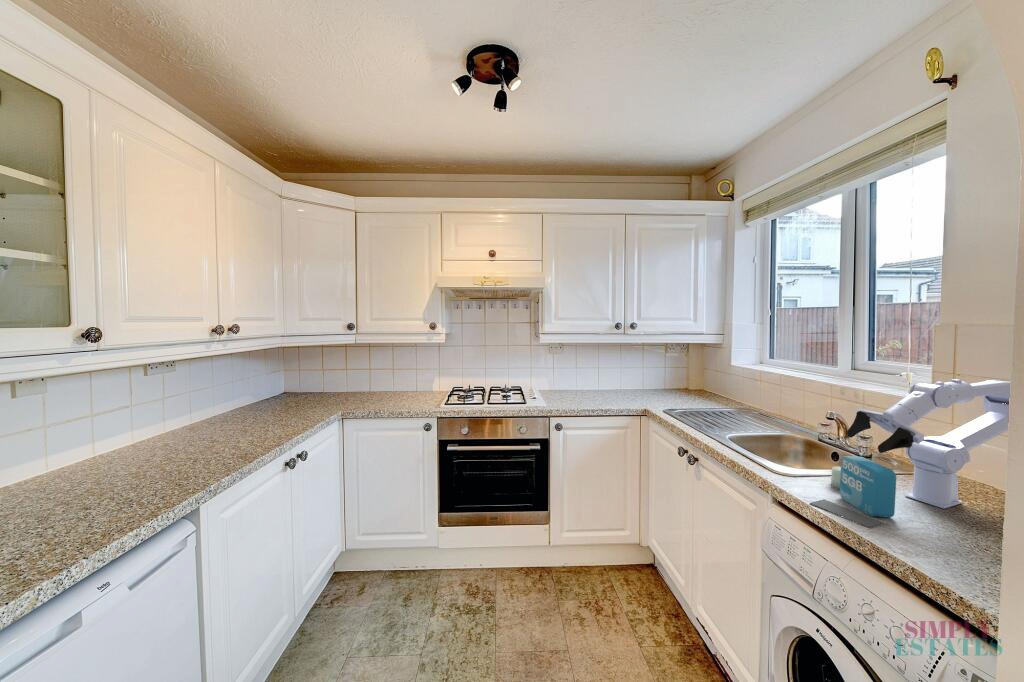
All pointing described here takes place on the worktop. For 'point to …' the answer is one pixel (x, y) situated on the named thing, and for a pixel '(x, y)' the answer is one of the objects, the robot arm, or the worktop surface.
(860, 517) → the rubber mat
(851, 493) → the data package
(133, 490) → the worktop surface
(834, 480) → the mint green soap bar
